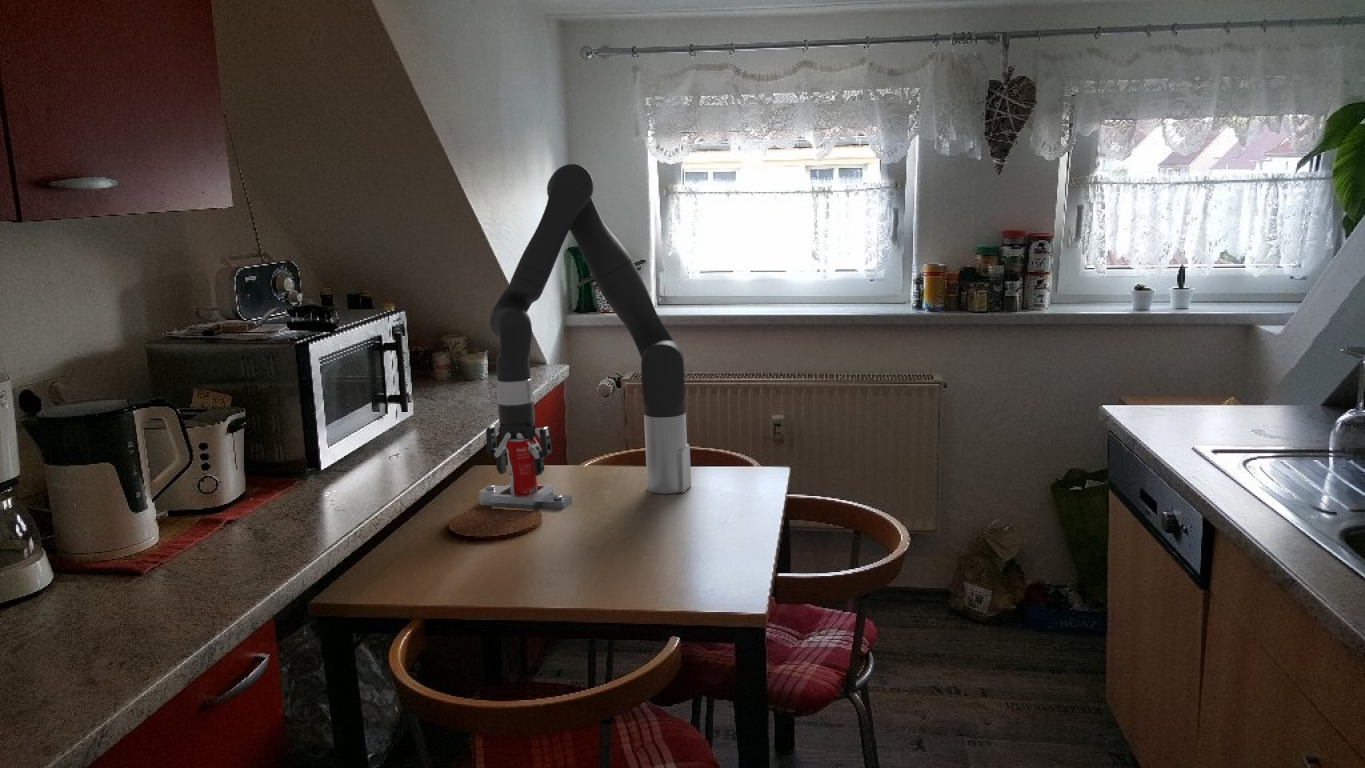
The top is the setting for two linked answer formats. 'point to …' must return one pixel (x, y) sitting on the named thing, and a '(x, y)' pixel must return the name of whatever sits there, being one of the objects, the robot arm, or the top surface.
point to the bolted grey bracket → (523, 498)
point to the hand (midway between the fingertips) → (520, 474)
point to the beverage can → (521, 467)
